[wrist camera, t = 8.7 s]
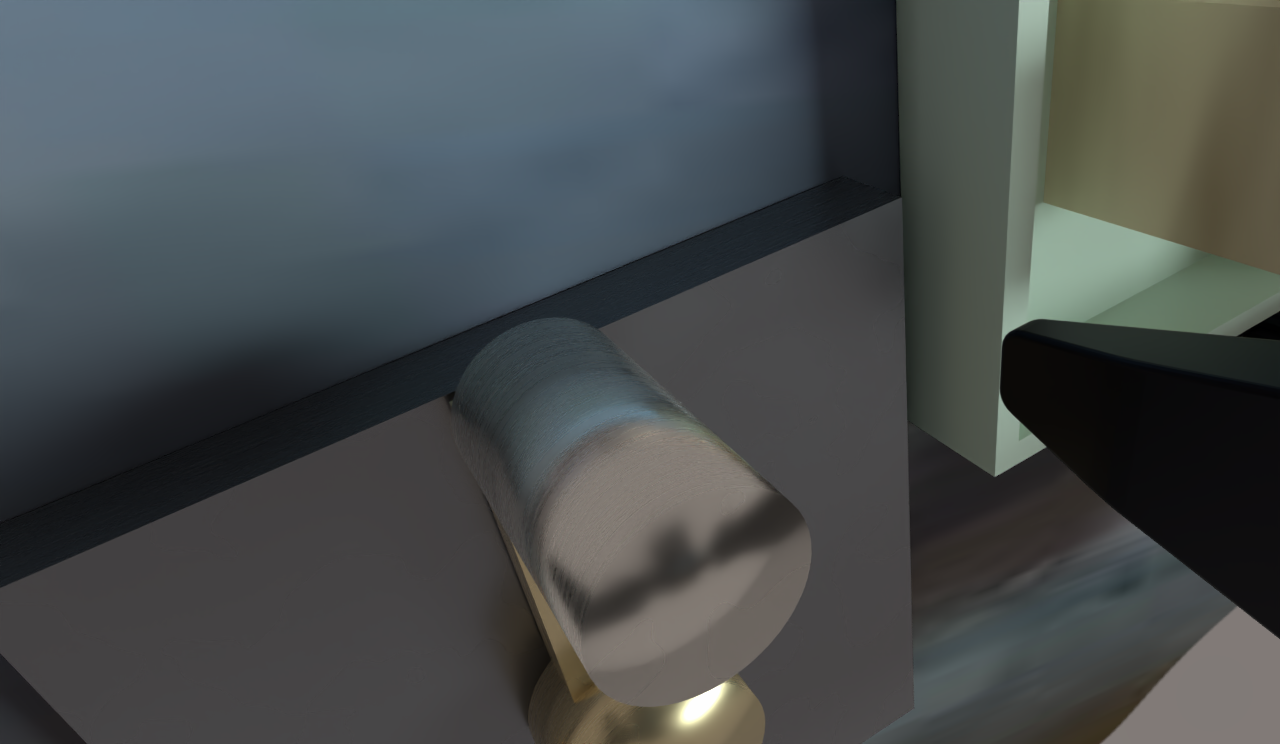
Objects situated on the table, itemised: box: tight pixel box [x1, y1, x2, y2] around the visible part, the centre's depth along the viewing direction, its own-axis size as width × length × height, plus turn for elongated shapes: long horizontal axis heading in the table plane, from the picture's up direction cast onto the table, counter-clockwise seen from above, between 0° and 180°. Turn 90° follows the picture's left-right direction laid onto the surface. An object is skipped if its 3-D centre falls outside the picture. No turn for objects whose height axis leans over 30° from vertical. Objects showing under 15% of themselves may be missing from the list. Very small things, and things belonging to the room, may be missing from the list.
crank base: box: [0, 176, 914, 744], centre depth 16 cm, size 15×14×2 cm
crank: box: [449, 317, 812, 744], centre depth 12 cm, size 10×4×5 cm, turn 12°
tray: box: [896, 0, 1280, 477], centre depth 16 cm, size 10×12×2 cm
